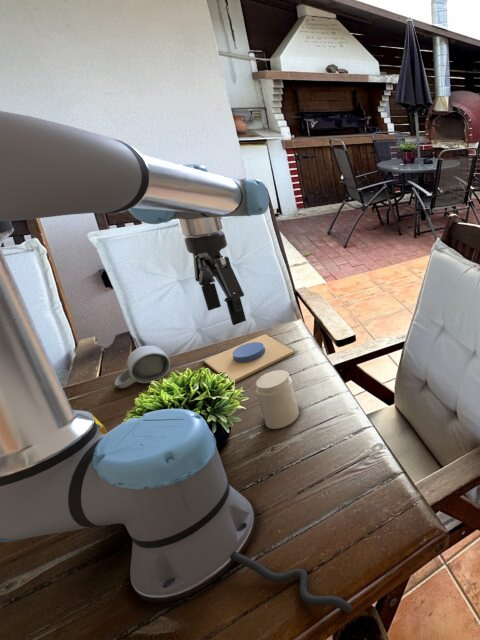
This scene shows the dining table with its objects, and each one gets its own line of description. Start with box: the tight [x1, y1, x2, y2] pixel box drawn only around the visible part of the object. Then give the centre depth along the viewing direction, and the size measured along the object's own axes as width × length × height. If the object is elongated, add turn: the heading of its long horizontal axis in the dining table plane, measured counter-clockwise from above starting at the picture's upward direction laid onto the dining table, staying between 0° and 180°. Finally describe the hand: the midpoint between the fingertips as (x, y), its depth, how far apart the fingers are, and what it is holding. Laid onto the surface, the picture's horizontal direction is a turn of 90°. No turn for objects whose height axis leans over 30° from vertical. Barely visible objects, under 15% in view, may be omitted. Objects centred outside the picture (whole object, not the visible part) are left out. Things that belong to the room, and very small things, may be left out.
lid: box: [233, 342, 265, 363], centre depth 109 cm, size 7×7×2 cm
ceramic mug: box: [114, 345, 171, 389], centre depth 100 cm, size 11×8×8 cm
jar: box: [255, 369, 300, 430], centre depth 87 cm, size 7×7×10 cm
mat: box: [203, 333, 295, 383], centre depth 109 cm, size 16×16×1 cm
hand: (226, 315), depth 99 cm, fingers open, 13 cm apart
